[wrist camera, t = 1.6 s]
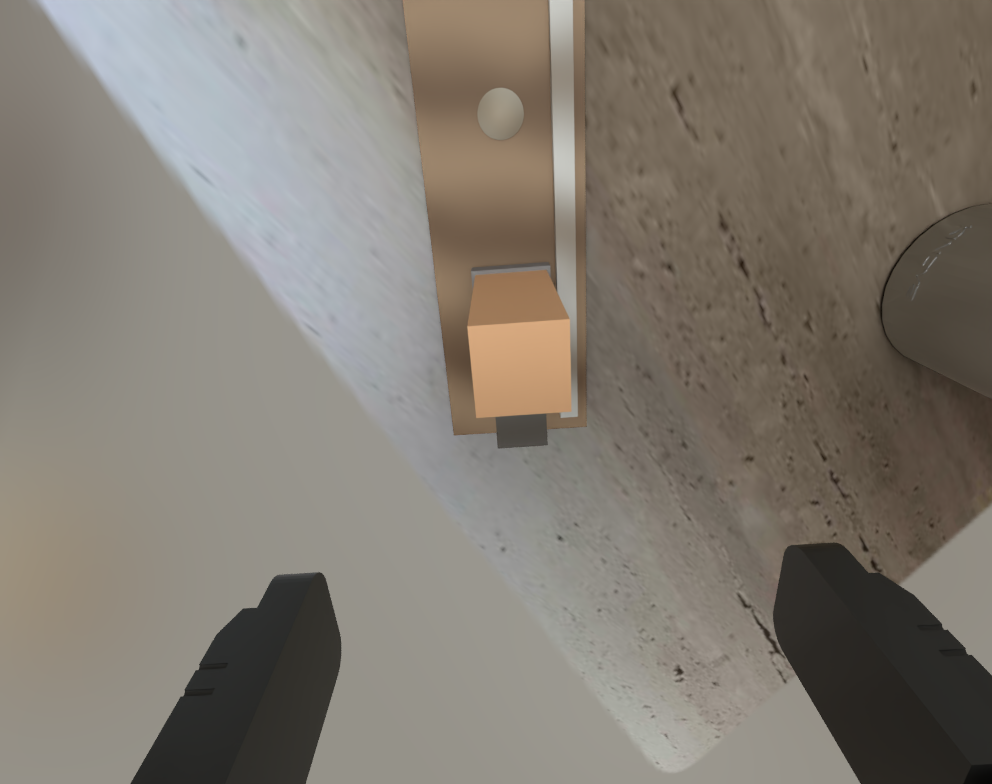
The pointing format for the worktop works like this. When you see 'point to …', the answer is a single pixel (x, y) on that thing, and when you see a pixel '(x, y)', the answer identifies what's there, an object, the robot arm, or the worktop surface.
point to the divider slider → (518, 342)
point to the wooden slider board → (502, 171)
